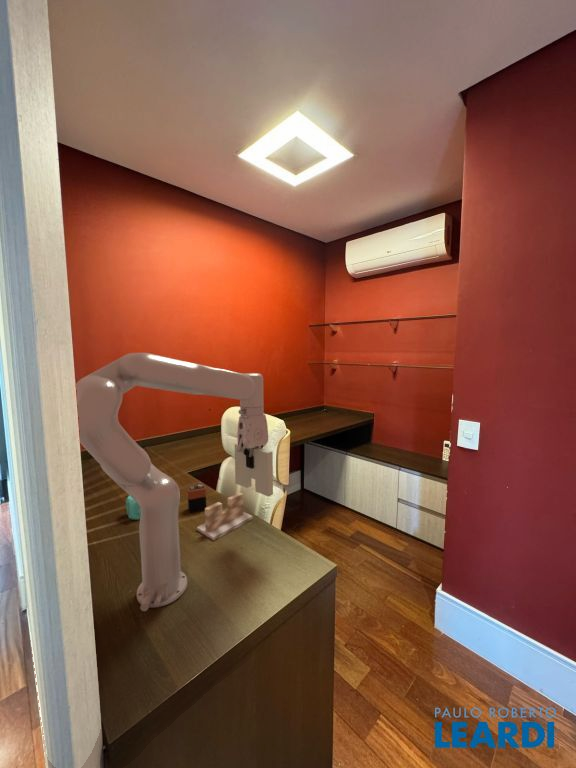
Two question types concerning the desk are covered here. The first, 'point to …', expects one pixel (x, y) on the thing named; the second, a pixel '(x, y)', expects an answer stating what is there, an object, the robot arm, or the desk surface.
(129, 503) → the decorative dice
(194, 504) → the battery
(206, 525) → the stand
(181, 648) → the desk surface
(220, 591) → the desk surface
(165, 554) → the robot arm
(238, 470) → the beige rectangular panel
